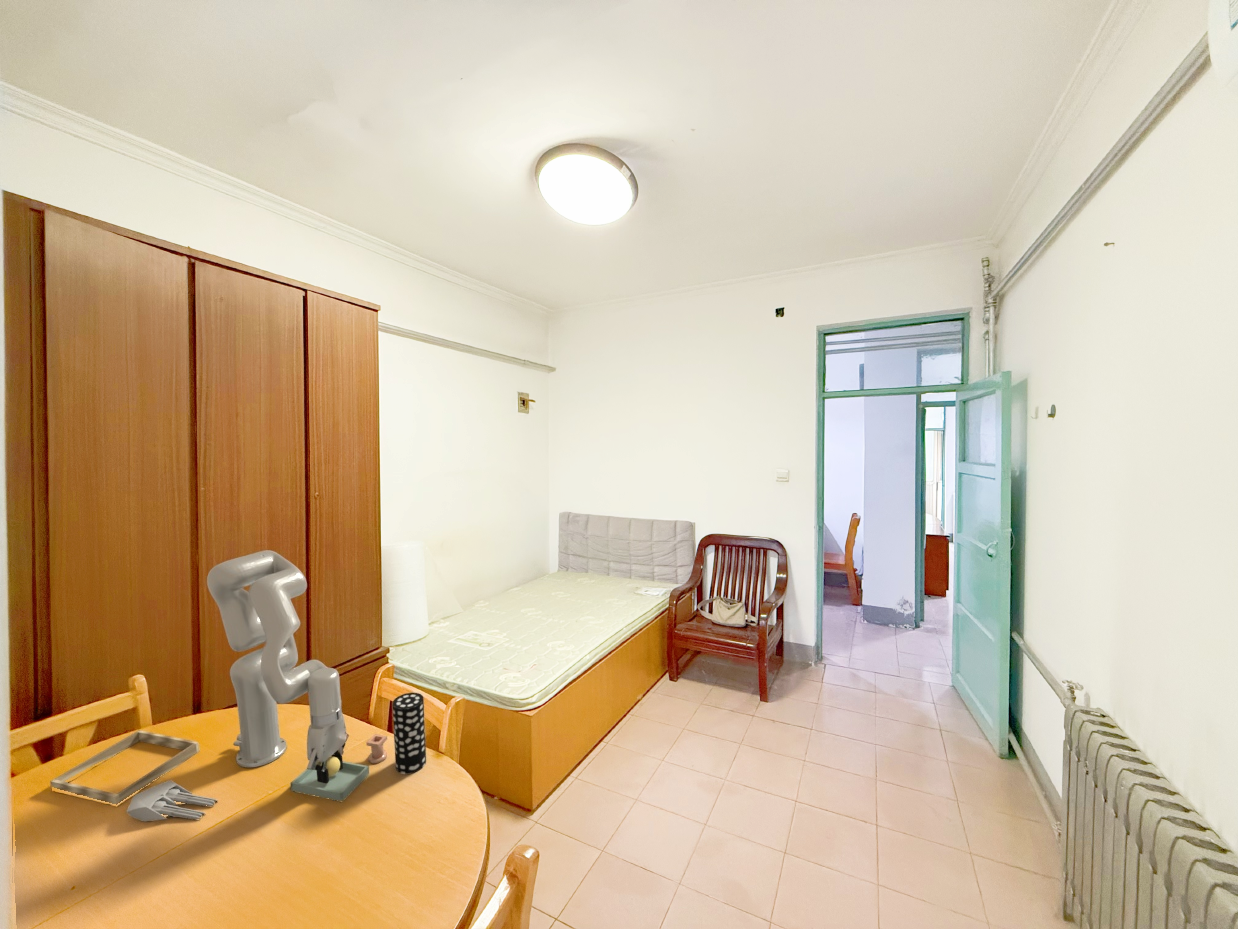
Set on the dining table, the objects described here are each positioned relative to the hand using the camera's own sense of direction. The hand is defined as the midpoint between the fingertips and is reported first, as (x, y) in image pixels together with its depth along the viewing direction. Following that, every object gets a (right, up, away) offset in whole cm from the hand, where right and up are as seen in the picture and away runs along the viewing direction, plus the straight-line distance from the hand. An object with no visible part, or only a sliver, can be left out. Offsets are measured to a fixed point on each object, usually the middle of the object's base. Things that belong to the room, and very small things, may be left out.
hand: (330, 774), depth 155 cm
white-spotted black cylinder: (+19, -2, +8) cm, 21 cm away
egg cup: (+9, -1, +11) cm, 14 cm away
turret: (-36, -4, -10) cm, 37 cm away
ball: (0, 0, 0) cm, 0 cm away
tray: (0, -2, 0) cm, 2 cm away
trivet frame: (-59, -1, +4) cm, 59 cm away
